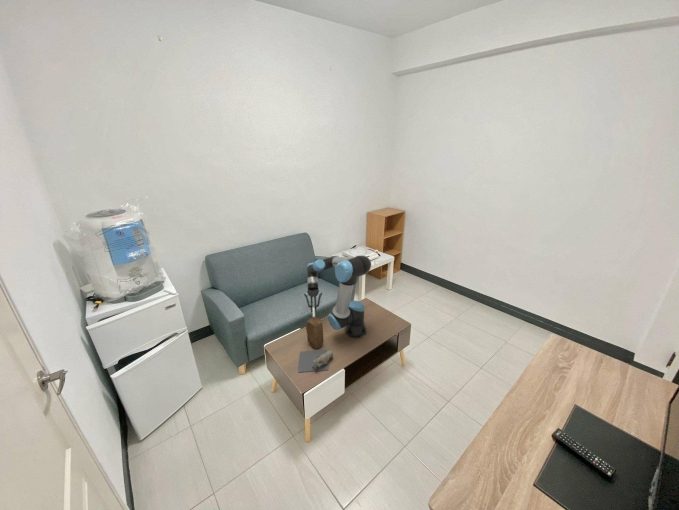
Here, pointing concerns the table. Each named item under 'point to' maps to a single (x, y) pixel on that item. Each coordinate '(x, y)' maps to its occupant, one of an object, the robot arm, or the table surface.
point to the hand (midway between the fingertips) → (313, 317)
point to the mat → (311, 361)
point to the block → (314, 332)
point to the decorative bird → (323, 359)
